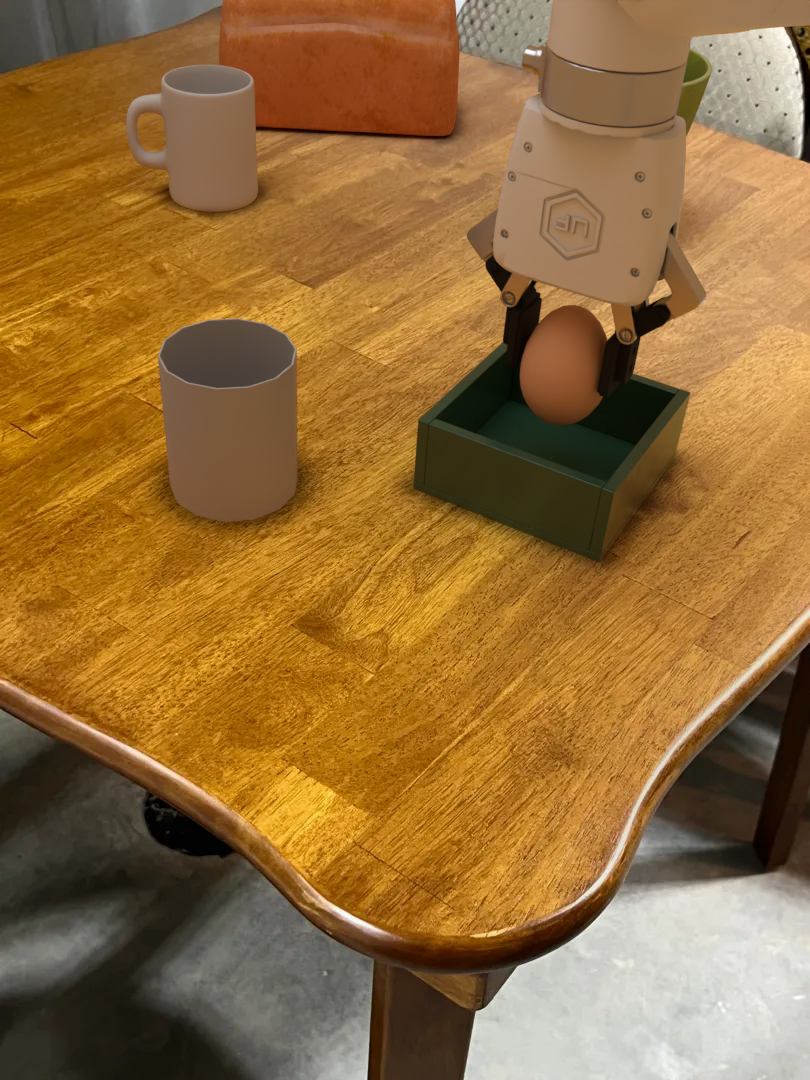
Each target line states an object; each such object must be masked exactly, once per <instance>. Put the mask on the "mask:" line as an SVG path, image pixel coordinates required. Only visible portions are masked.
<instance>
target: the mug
mask: <svg viewBox="0 0 810 1080" xmlns="http://www.w3.org/2000/svg"><path fill="white" fill-rule="evenodd" d="M160 84H161V92H160V93H151V94H145V95H141V96H138V97H136V98H135V99H133V100H132V101H131V102H130V104H129V106H128V109H127V114H126V123H125V126H126V127H125V129H126V137H127V144H128V147H129V150H130V153H131V155H132V157H133V159H134V160H135V162H136V163H137V164H139V165H140V166H141V167H143V168H146V169H151V170H160V171H162V170H163V171H167V177H168V189H169V190H168V191H169V195H170V198H171V199H172V200H173V202H175V204H177V205H178V206H180V207H182V208H185V209H188V210H192V211H197V212H201V213H203V212H204V213H224V212H232V211H236V210H240V209H243V208H246V207H247V206H250V205H251V204H252V203H253V202H255V201H256V199H257V197H258V194H259V176H258V174H259V173H258V157H257V156H258V151H257V127H256V120H255V89H254V80H253V78H252V77H251V76H250V75H249V74H248V73H246V72H244V71H242V70H240V69H236V68H232V67H227V66H220V65H219V64H195V65H194V64H193V65H186V66H182V67H178V68H177V67H176V68H174V69H172V70H170V71H168V72H165V74H164V75H163V76H162V78H161V82H160ZM146 113H147V114H148V113H151V114H157V115H159V116H161V117H162V118H163V124H164V125H163V127H164V134H165V136H164V137H165V148H164V149H162V150H159V151H148V150H146V149H144V148H143V146H142V145H141V142H140V140H139V137H138V121H139V118H140V116H141V115H143V114H146Z"/></svg>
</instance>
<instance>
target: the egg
mask: <svg viewBox="0 0 810 1080" xmlns="http://www.w3.org/2000/svg"><path fill="white" fill-rule="evenodd" d="M607 340H608V337H607V334H606V332H605V329H604V327H603V325H602V323H601V322H600V320H599V319H598V318H597V317H596V316H595V315H594V313H593V312H592V311H590V310H589V309H587V308H585V307H583V306H581V305H577V304H565V305H562V306H560V307H557V308H555V309H553V310H551V311H550V312H549V313H548V314H547V315H545V316H544V317H543V318H542V319H541V320H540V321H539V324H538V325H537V326H536V328H535V329H534V331H533V333H532V334H531V336H530V338H529V339H528V341H527V343H526V346H525V349H524V352H523V355H522V360H521V366H520V385H521V390H522V393H523V396H524V399H525V401H526V403H527V404H528V406H529V408H530V409H531V410H532V412H533V413H534V414H535V415H536V416H537V417H538V418H539V419H541V420H543V421H544V422H546V423H548V424H551V425H556V426H565V425H572V424H574V423H577V422H578V421H580V420H582V419H583V418H585V417H587V416H588V415H589V414H590V413H591V412H592V411H593V410H594V409H595V408H596V407H597V405H598V404H599V403H600V401H601V400H602V398H603V397H602V396H600V395H599V393H597V389H598V383H599V378H600V373H601V367H602V362H603V356H604V351H605V346H606V342H607Z"/></svg>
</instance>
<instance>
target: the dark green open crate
mask: <svg viewBox="0 0 810 1080" xmlns="http://www.w3.org/2000/svg"><path fill="white" fill-rule="evenodd" d="M506 352H507V344H504V343H503V341H502V342H500V344H498V346H497V347H495V349H493V350H492V351H491V352H490V353H489V354H488V355H487V356H486V357H485V358H483V359H482V360H481V361H480V362H479V363H478V364H477V365H476V366H475V367H474V368H472V370H471V371H469V372H468V373H467V374H466V375H465V376H464V377H463V378H462V379H461V380H460V381H459V382H458V383H456V384H455V385H454V386H453V387H452V388H451V389H450V390H448V391H447V392H446V393H445V395H443V396H442V397H441V398H440V399H439V400H438V401H437V402H436V403H435V404H433V406H432V407H430V408H429V409H428V410H427V411H426V412H425V413H424V414H423V415H422V416H421V417H419V418H418V419H417V430H416V431H417V433H416V443H415V444H416V445H415V446H416V447H415V458H414V459H415V461H414V475H413V487H412V488H413V489H414V490H416V491H419V492H421V493H423V494H425V495H429V496H431V497H433V498H436V499H439V500H441V501H444V502H447V503H449V504H451V505H454V506H456V507H459V508H461V509H463V510H466V511H468V512H471V513H473V514H477V515H479V516H481V517H484V518H486V519H489V520H492V521H494V522H497V523H499V524H501V525H504V526H506V527H509V528H511V529H514V530H516V531H519V532H520V533H521V532H522V533H524V534H526V535H529V536H531V537H534V538H537V539H539V540H541V541H544V542H546V543H549V544H551V545H553V546H556V547H559V548H561V549H564V550H565V551H566V550H567V551H569V552H572V553H574V554H577V555H579V556H582V557H584V558H587V559H589V560H591V561H594V562H597V563H600V562H601V561H602V559H603V558H604V556H605V555H606V554H607V553H608V551H609V550H610V548H611V547H612V546H613V544H614V543H615V541H616V540H617V539H618V537H619V536H620V535H621V533H622V531H624V530H625V528H626V526H627V525H628V523H629V522H631V521H630V520H632V518H633V516H634V515H635V514H636V513H637V512H638V509H640V507H641V505H642V504H643V503H644V501H645V500H646V498H647V497H648V496H649V494H650V493H651V492H652V490H653V489H654V488H655V486H656V485H657V483H658V482H659V481H660V479H661V478H662V476H663V475H664V474H665V473H666V471H667V470H668V468H669V467H670V466H671V464H672V463H673V461H674V460H675V457H676V452H677V449H678V445H679V441H680V437H681V432H682V429H683V425H684V422H685V418H686V414H687V409H688V404H689V400H690V397H691V392H690V391H687V390H685V389H682V388H678V387H676V386H673V385H669V384H666V383H663V382H660V381H658V380H654V379H651V378H648V377H645V376H642V375H639V374H636V373H633V374H632V376H631V378H630V380H629V381H628V382H627V383H626V384H624V383H620V384H619V386H618V387H617V388H616V389H615V390H614V391H613V392H612V394H611V395H610V396H609V397H608V398H605V397H603V398H602V400H601V401H600V403H599V404H598V405H597V407H596V408H595V409H594V410H593V411H592V412H591V413H590V414H589V415H588V416H587V417H585V418H583V419H582V420H580V421H578V422H577V423H574V424H572V425H565V426H556V425H551V424H548V423H546V422H544V421H543V420H541V419H539V418H538V417H537V416H536V415H535V414H534V413H533V412H532V410H531V409H530V408H529V406H528V404H527V403H526V401H525V399H524V396H523V393H522V390H521V385H520V366H521V362H520V363H519V364H518V365H514V366H511V365H508V364H506V363H505V360H506Z"/></svg>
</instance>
